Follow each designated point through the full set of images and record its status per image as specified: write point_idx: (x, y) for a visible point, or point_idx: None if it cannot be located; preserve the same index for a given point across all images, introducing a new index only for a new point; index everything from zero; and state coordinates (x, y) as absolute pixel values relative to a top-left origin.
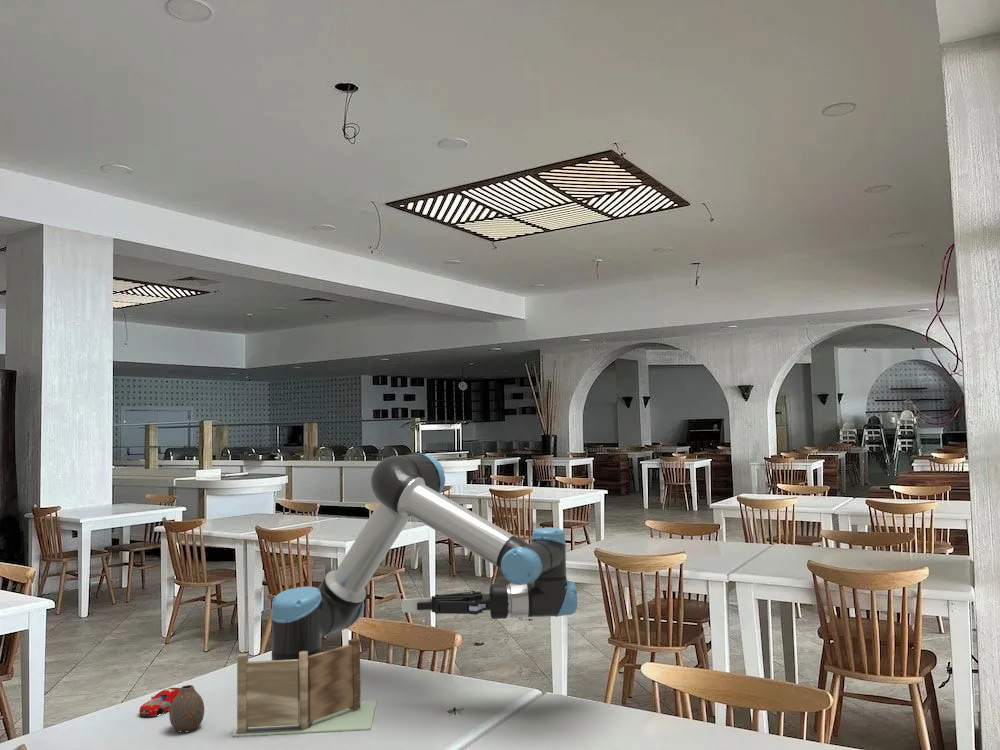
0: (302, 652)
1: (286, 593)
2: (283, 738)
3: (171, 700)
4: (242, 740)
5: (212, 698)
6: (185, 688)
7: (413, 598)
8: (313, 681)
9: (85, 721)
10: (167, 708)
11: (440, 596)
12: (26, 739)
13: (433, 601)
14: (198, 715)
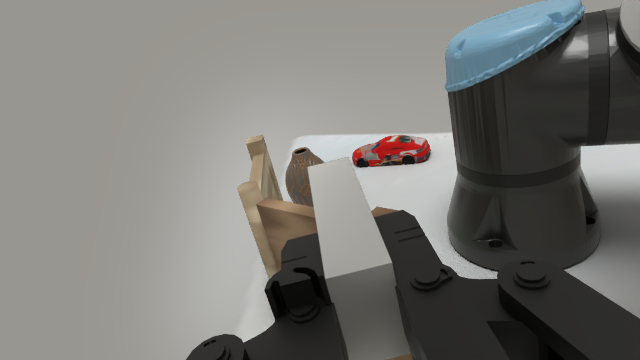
0: (244, 185)
1: (505, 14)
2: (257, 312)
3: (380, 153)
4: (260, 267)
5: (437, 172)
6: (293, 152)
7: (352, 188)
8: (279, 256)
9: (343, 140)
10: (374, 161)
11: (527, 315)
12: (298, 138)
13: (278, 319)
14: (298, 195)
